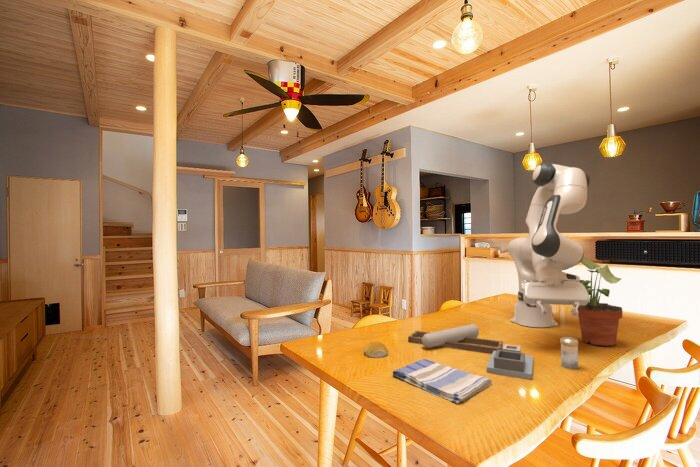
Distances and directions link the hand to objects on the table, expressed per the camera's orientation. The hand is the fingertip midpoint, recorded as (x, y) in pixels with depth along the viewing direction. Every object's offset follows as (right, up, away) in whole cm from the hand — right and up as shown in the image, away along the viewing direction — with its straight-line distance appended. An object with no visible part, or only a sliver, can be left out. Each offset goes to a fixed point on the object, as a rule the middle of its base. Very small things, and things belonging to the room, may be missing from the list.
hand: (559, 313), depth 116 cm
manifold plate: (-21, -14, -9) cm, 27 cm away
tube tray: (-32, -15, +13) cm, 37 cm away
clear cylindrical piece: (-3, -14, -10) cm, 18 cm away
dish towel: (-45, -16, -18) cm, 51 cm away
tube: (-33, -14, +14) cm, 39 cm away
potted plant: (+21, -13, +9) cm, 26 cm away
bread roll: (-62, -16, +6) cm, 64 cm away
